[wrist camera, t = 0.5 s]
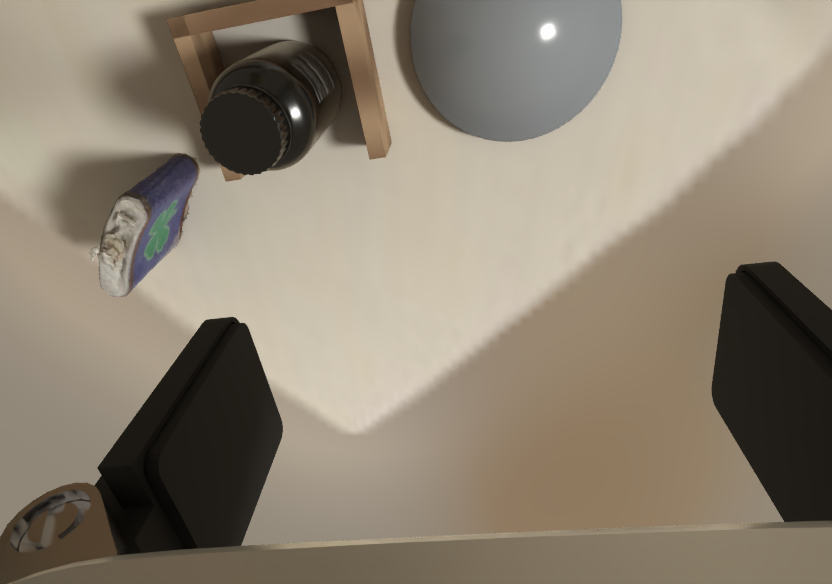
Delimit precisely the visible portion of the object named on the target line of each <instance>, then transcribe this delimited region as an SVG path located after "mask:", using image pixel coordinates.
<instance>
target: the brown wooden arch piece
mask: <svg viewBox="0 0 832 584" xmlns="http://www.w3.org/2000/svg"><path fill="white" fill-rule="evenodd" d="M334 6H335V8H336V12H337V16H338V21H339V25H340V30H341V34H342V39H343V43H344V48H345V52H346V56H347V61H348V65H349V70H350V74H351V79H352V83H353V88H354V92H355V96H356V101H357V105H358V110H359V114H360V119H361V123H362V128H363V132H364V136H365V141H366V145H367V150H368V154H369V159H376V158H383V157H386V155H387V153H388V150H389V148H390V145H391V138H390V133H389V128H388V123H387V118H386V113H385V108H384V103H383V98H382V93H381V88H380V83H379V78H378V73H377V68H376V64H375V59H374V54H373V49H372V44H371V39H370V34H369V29H368V24H367V19H366V14H365V9H364V4H363V0H255V1H250V2H245V3H240V4H236V5H231V6H226V7H221V8H216V9H212V10H207V11H202V12H197V13H192V14H187V15H183V16H178V17H173V18H168V19H166V20H167V22H168V25H169V28H170V30H171V33H172V36H173V39H174V41H175V44H176V47H177V50H178V52H179V55H180V58H181V60H182V63H183V66H184V69H185V71H186V74H187V77H188V80H189V82H190V85H191V88H192V90H193V93H194V96H195V99H196V101H197V104H198V107H199V110H200V112H201V115H202V113H203V112H204V108H205V107H206V106H207V105H208V98H209V93H210V90H211V87H212V85H213V83H214V81H215V80H216V78H217V77H218V76H219V74H220V73H221V72H222V71H223V70H224V67H223V64H222V61H221V58H220V55H219V52H218V49H217V46H216V43H215V40H214V37H213V34H212V31H215V30H220V29H225V28H230V27H235V26H240V25H245V24H250V23H255V22H260V21H265V20H270V19H275V18H280V17H285V16H290V15H294V14H299V13H304V12H309V11H314V10H319V9H324V8H329V7H334ZM219 164H220V163H219ZM220 167H221V170H222V172H223V175H224V178H225V181H233V180H239V179H241V178H242V177H244V176H245V175H243V174H241V173H239V174H237V173H235V172H234V171H229V170H228V169H227V168H226V167H223V166H221V164H220Z"/></svg>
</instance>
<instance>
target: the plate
mask: <svg viewBox="0 0 832 584" xmlns="http://www.w3.org/2000/svg"><path fill="white" fill-rule="evenodd" d="M621 28H622V6H621V0H415V4H414V8H413V12H412V19H411V27H410V45H411V54H412V60H413V64H414V68H415V72H416V75H417V77H418V80H419V83H420V85H421V87H422V89H423V91H424V93H425V94H426V96H427V97H428V99H429V100H430V102H431V103H432V105H433V106H434V107H435V108H436V109H437V110H438V112H439V113H440V114H441V115H442V116H443V117H444V118H446V119H447V120H448V121H449V122H450V123H452V124H453V125H455V126H456V127H458V128H459V129H461V130H463V131H465V132H467V133H469V134H471V135H473V136H477V137H480V138H483V139H487V140H493V141H504V142H512V141H523V140H527V139H532V138H536V137H539V136H542V135H544V134H547V133H549V132H551V131H553V130H555V129H557V128H559V127H561V126H562V125H564V124H566V123H567V122H569V121H570V120H571V119H573V118H574V117H575V116H576V115H577V114H579V113H580V112H581V111H582V110H583V109H584V108H585V107H586V106H587V105H588V104H589V103H590V102H591V101H592V99H593V98H594V97H595V95H596V94H597V93H598V91H599V90H600V89H601V87H602V85H603V83H604V82H605V80H606V78H607V77H608V74H609V72H610V70H611V68H612V66H613V63H614V60H615V57H616V54H617V51H618V47H619V42H620V37H621Z"/></svg>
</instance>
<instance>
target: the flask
mask: <svg viewBox="0 0 832 584" xmlns="http://www.w3.org/2000/svg"><path fill="white" fill-rule="evenodd" d="M199 174H200V170H199V166H198V164H197V162H196V158H192V157H190V156H189V155H187V154H181V153H178V154H177V155H175V156H174V157H172V158H171V159H170V160H169V161H168V162H167V163H166V164H164V165H163V166H161V167H160V168H158V169H157V170H156V171H155V172H154V173H152V174H151V175H150V176H148V177H147V178H146V179H144V180H143V181H141V182H140V183H138V184H137V185H136V186H134V187H133V188H132V189H131V190H129V191H127V192H125V193H124V194H123V195H122V196H120V197H119V198H118V199H117V201H116V203H115V204H114V207H113V209H112V210H111V213H110V215H109V217H108V219H107V221H106V224H105V227H104V230H103V235H102V236H101V244H100V253H99V254H97V255H98V260H99V277H100V278H99V279H100V285H101V287H102V289H104V290H105V291H106V292H107V293H108V294H110V295H112V296H115V297H123V296H127V295H128V294H129V293H130V292H131V291H132V289H133V288H134V287H135V286H136V285H137V284H138V283H139V282H140V281H141V280H142V279H143V278H144V277H145V276H146V275H147V273H148V272H149V271H150V270H152V269H153V268H154V267H155V266H156V265H157V263H158V262H159V261H161V260H162V259H163V258H164V257H165V256H166V255H167V254H168V253H169V252H170V251H171V250H172V249H173V248H175V247H176V246H177V244H178V242H179V240H180V238H181V236H182V235H183V234H182V233H183V231H181V230H182V226H183V222H184V221H185V219H186V218H187V214H189V213H188V210H189V206H188V205H189V204H188V199H189V197H193V196H192V188H193V187H194V186H195V185H196V181H197V179H198V176H199ZM98 252H99V250H98V249H97V247H94V248H92V249H91V250H90V252H89V253H90V255H91V256H92V257H91V260H94V257H93V256H94V255H96V253H98Z"/></svg>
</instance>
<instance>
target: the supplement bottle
mask: <svg viewBox="0 0 832 584" xmlns="http://www.w3.org/2000/svg"><path fill="white" fill-rule="evenodd" d="M340 99H341V90H340V84H339V80H338V77H337V74H336V72H335V70H334V68H333V66H332V65H331V63H330V62H329V61H328V59H327V58H326V57H325V56H324V55H323V54H322V53H321V52H319V51H318V50H317V49H315V48H313V47H312V46H310V45H308V44H305V43H302V42H298V41H282V42H278V43H274V44H272V45H270V46H267V47H265V48H263V49H261V50H259V51H257V52H255V53H253V54H251V55H249V56H247V57H245V58H243V59H241V60H239V61H237V62H235V63H234V64H232V65H230V66H229V67H227V68H226V69H225V70H223V71H222V72H221V73H220V74H219V76H218V77H217V78H216V80H215V81H214V83H213V85H212V87H211V90H210V93H209V98H208V105H207V106H206V107H205V108H204V112H203V113H202V115H201V118H202V120H201V121H200V126H201V129H200V132H201V134H202V140H203V141H204V143H205V147H206V148H207V149H208V151H209V153H210V155H211V156H213V157H214V159H215V161H217V162H219V163H220V164H221V166H223V167H226V168H227V169H228V170H229V171H234V172H235V173H237V174H239V173H241V174H243V175H247V174H249V175H254V174H261V173H262V172H264V171H276V170H281V169H285V168H288V167H290V166H292V165H294V164H296V163H297V162H299V161H300V160H301V159H302V158H303V157H304V156H305V155H306V154H307V153H308V152H309V150H310V149H311V148H312V147H313V145H314V144H315V143H316V142H317V140H318V139H319V138H320V137H321V135H322V134H323V133H324V132H325V130H326V129H327V128H328V126H329V125H330V124H331V122H332V121H333V119H334V118H335V116H336V114H337V112H338V109H339V105H340Z"/></svg>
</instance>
